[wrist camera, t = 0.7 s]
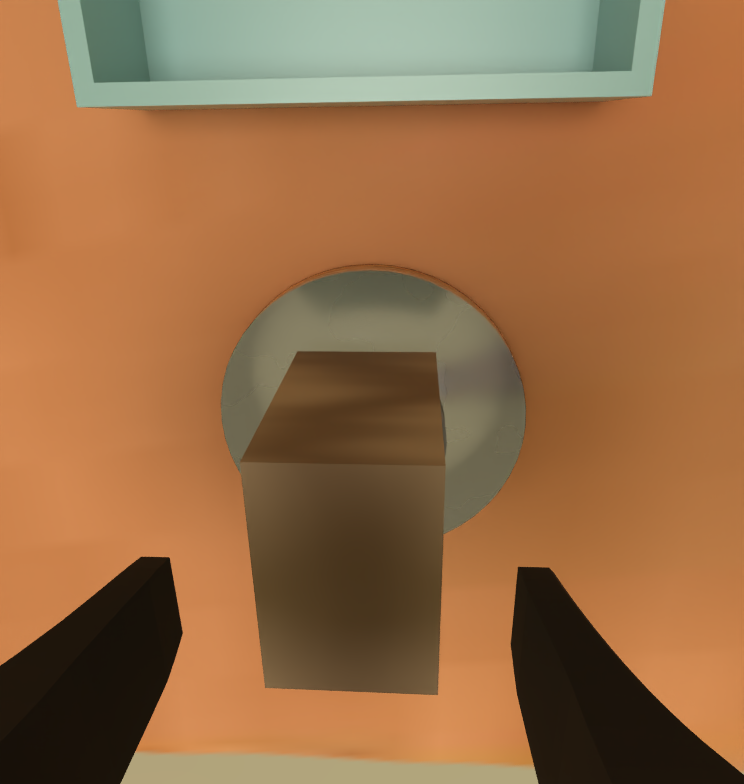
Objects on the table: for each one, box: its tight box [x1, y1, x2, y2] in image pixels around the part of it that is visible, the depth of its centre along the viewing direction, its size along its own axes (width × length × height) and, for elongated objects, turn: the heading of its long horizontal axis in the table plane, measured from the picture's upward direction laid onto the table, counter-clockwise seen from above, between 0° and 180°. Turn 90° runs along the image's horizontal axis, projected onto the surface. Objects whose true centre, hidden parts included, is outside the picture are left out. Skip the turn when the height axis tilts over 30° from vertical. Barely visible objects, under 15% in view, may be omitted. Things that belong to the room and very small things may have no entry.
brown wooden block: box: [240, 351, 447, 695], centre depth 17 cm, size 5×6×8 cm
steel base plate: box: [221, 264, 526, 534], centre depth 21 cm, size 10×10×1 cm
